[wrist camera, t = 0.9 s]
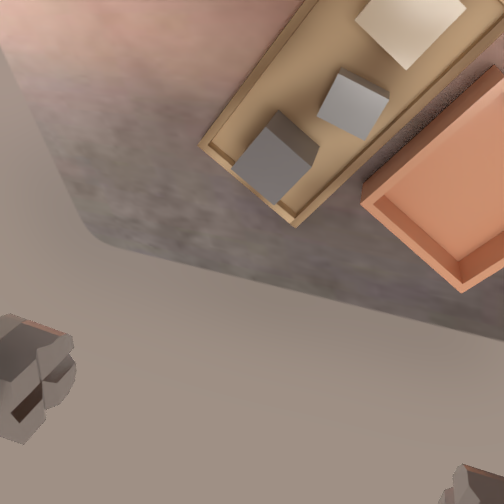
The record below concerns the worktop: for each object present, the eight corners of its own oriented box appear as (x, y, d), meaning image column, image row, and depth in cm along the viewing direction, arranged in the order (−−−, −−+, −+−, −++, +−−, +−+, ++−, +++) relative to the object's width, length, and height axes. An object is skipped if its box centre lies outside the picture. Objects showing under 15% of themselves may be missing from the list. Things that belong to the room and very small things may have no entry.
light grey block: (320, 107, 32) (316, 116, 31) (341, 66, 31) (338, 73, 29) (366, 131, 32) (364, 140, 31) (389, 91, 31) (389, 99, 29)
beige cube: (359, 12, 29) (354, 20, 25) (409, -49, 26) (411, -49, 23) (405, 57, 29) (406, 70, 26) (458, 1, 27) (466, 8, 24)
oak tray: (203, 139, 36) (197, 145, 35) (399, -124, 25) (399, -127, 24) (298, 220, 38) (295, 228, 37) (522, 7, 27) (527, 9, 26)
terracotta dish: (362, 183, 35) (360, 204, 32) (494, 64, 29) (504, 76, 26) (456, 267, 37) (461, 293, 34) (599, 171, 30) (620, 194, 28)
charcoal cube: (245, 148, 35) (230, 168, 32) (278, 109, 33) (265, 126, 30) (285, 182, 36) (274, 205, 33) (319, 146, 34) (311, 167, 31)
